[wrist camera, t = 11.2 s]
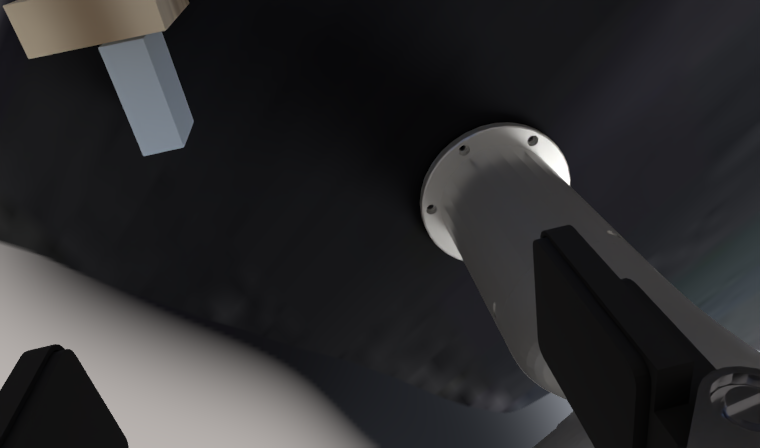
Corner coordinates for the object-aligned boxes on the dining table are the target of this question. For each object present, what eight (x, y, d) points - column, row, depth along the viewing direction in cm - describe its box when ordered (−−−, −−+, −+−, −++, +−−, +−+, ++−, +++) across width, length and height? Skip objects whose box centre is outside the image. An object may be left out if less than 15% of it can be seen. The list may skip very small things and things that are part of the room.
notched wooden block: (175, -40, 35) (146, -24, 28) (189, 3, 37) (165, 30, 29) (63, -18, 35) (2, 5, 27) (81, 25, 36) (28, 59, 29)
